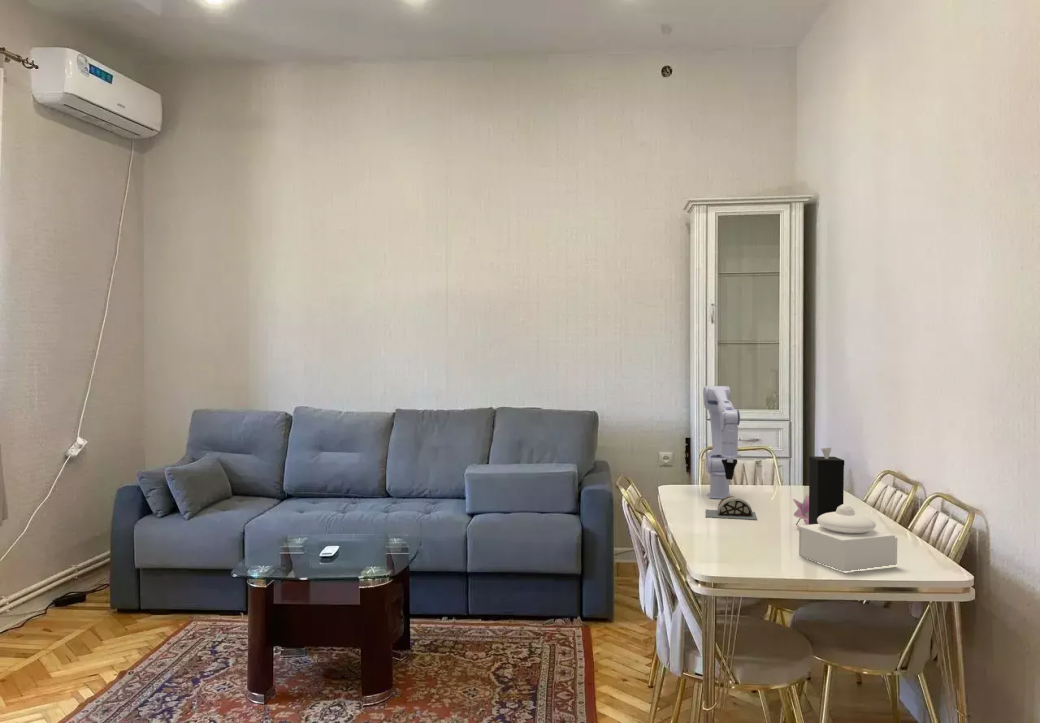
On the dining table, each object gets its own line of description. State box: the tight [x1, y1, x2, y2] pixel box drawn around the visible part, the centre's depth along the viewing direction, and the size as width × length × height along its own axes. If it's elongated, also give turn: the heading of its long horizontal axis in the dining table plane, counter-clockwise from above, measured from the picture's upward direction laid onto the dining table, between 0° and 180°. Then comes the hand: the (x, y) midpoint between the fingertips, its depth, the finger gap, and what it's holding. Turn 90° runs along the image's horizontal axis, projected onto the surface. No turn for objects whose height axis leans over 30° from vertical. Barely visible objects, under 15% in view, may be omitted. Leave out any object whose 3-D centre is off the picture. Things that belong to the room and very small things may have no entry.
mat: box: [705, 509, 758, 521], centre depth 270 cm, size 12×17×1 cm
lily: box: [792, 494, 809, 526], centre depth 252 cm, size 12×12×10 cm
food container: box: [716, 495, 754, 516], centre depth 271 cm, size 12×6×10 cm
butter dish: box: [796, 503, 898, 571], centre depth 211 cm, size 18×18×16 cm
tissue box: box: [808, 447, 845, 525], centre depth 236 cm, size 8×8×28 cm
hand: (729, 479), depth 285 cm, fingers closed
